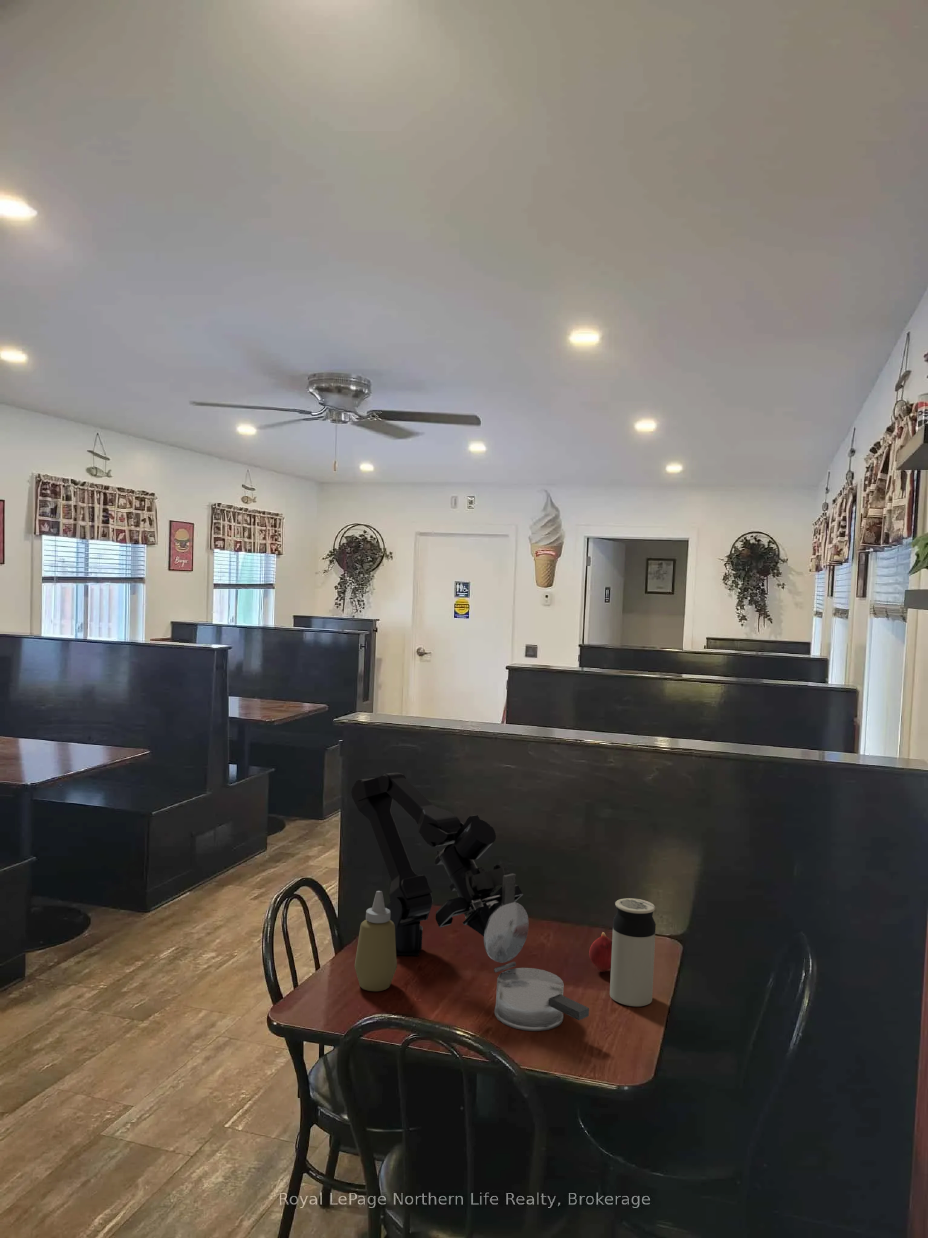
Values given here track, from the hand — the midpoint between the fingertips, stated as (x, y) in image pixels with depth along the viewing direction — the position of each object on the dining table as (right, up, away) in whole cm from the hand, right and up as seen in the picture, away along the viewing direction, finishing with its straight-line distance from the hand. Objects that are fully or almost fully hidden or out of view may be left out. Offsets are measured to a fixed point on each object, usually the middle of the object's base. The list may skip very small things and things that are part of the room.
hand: (500, 945), depth 160 cm
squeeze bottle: (-24, -9, +3) cm, 26 cm away
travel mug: (+25, -11, +3) cm, 28 cm away
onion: (+22, -11, +15) cm, 28 cm away
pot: (+7, -10, -8) cm, 15 cm away
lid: (+2, +5, -2) cm, 5 cm away
